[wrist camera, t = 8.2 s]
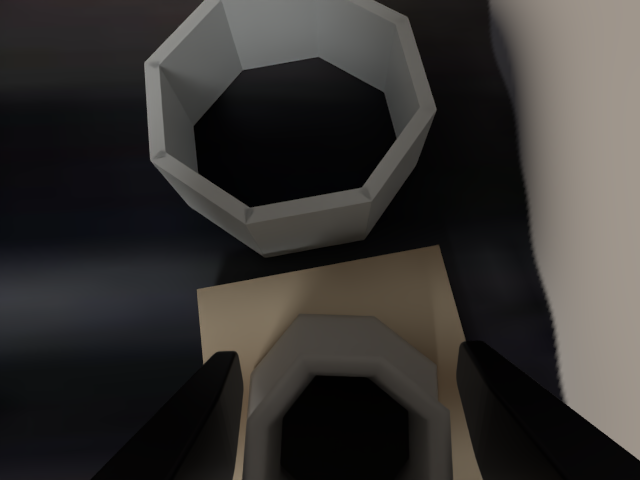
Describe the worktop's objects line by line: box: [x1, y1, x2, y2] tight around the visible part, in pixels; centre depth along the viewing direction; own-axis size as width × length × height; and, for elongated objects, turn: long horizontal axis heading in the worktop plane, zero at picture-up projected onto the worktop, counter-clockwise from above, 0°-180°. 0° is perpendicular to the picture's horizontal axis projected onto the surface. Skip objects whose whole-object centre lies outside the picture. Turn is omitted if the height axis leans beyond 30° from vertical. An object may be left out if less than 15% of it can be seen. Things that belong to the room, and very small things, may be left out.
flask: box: [242, 314, 453, 480], centre depth 11 cm, size 7×7×10 cm
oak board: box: [197, 245, 483, 480], centre depth 17 cm, size 11×10×2 cm
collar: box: [144, 0, 437, 258], centre depth 19 cm, size 11×11×4 cm
